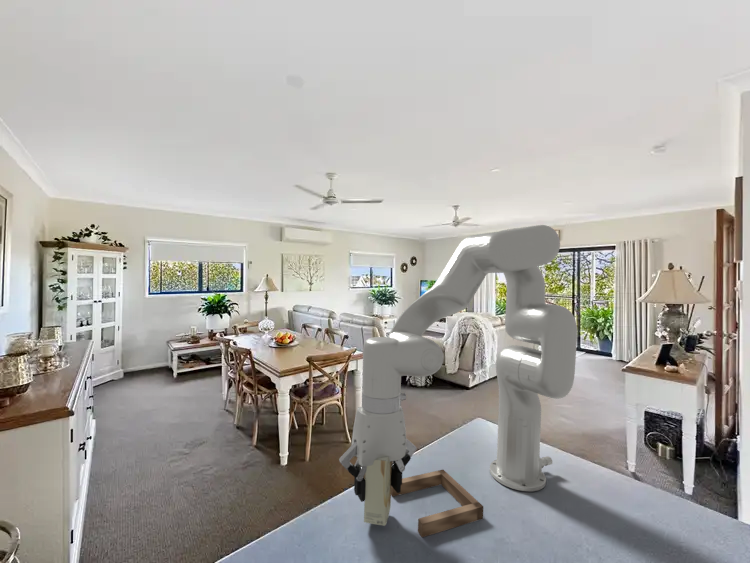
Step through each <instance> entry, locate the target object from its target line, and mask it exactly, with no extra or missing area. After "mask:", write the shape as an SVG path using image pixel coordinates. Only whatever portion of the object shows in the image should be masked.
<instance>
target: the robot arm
mask: <svg viewBox="0 0 750 563" xmlns="http://www.w3.org/2000/svg"><path fill="white" fill-rule="evenodd" d="M560 248H561V240H560V237H559V234H558V232H557V231H556V230H555V229H554V228H553V227H551V226H550V225H549V226H548V225H546V224H538V225H537V224H536V225H531V226H523V227H516V228H510V229H509V228H508V229H503V230H499V231H494V232H485V233H479V234H472V235H469V236H467V237H465V238H463V239H462V240H461V241H460V242H459V244H458V245H457V247H456V248H455V250H454V252H453V254H452V255H451V256H450V258H449V260H448V261H447V263H446V264H445V266H444V268H443V269H442V271H441V273H440V274H439V275H438V278H437V279H436V281H435V282H434V283H433V285H432V286H431V287H430V288H429V289H428V290H427V291H426V292H424V293H423V294H422V295H421V296H419V297H418V298H417V299H416V300H414V301H413V302H412V303H411V304H410V305H408V307H406V309H404V311H403V312H402V313H401V315H400V316H399V317H398V318H397V320H396V322H395V323H394V324H393V327H392V328H391V329H390V331H389V333H388V335H387V337H386V336H375V337H373V336H372V337H370V338H367V339H366V340H365V341H364V343H363V350H362V375H361V376H362V378H361V379H362V383H361V385H362V386H361V406H359V407H357V408H356V412H355V415H354V416H355V418H354V423H353V427H352V438H351V445H350V446H349V448H348V449H347V450H346V451H345V452H344V453H343V454H342V455H341V456H339V459H338V460H339V463H340V464H341V465H342V466H343V468H344V469H345V470H346V471H348V473H349V474H350V475H352V476H353V477H354V479H353V480H354V482H353V483H354V484H353V491H354V494H355V496H357V497H358V499H359V501H360V502H362V503H363V502H365V487H366V481H365V473H366V470H367V466H371V465H373V463H374V460H376V459H378V458H384V457H389V462H391V461H392V471H391V486H392V487H393V488H394V490H395V491H396V492H397V493H400V492H401V485H402V479H403V473H404V471H405V470H406V466H407V465H408V463H409V462H410V461H411V459H412V458H411V457H413V455H414V454H415V453H416V451H417V446H416V445H415V444H414V443H412V441H410V440H409V439H408V438H407V429H406V419H405V414H404V409H403V407H402V402H403V401H405V400H406V399H407V396H406V395H407V394H406V393H405V392H404V393H403V392H402V390H401V387H402V386H401V385H402V384H401V383H402V377H404V376H407V377H409V376H410V377H418V378H420V377H428V376H429V377H430V376H432V375H434V374H436V373H437V372H438V371H439V370H440V369H441V367H442V366H443V363H444V352H443V350H442V348H441V346H440V345H439V344H438V343H437V342H436V341H434V340H432V339H430V338H427V337H424V336H423V335H424V333H425V332H426V331H427V330H428V329H429V328H430V327H431V326H432V325H433V324H435V323H436V322H438V321H440V320H441V319H444V318H446V317H450V316H453V315H455V314H458V313H461V312H462V311H464V310H466V309H467V308H468V307H469V305H470V304H471V302H472V301H473V299H474V297H475V295H476V294H477V292H478V290H479V288H480V287H481V285H482V283H483V281H484V280H485V278H486V276H487V275H488V274H503V275H504V278H505V280H506V281H505V282H506V300H505V302H506V303H505V313H504V314H505V315H504V317H505V318H504V325H505V326H504V327H505V332H506V333H507V335H508V336H509V337H510V338H512V339H514V340H517V341H520V342H525V343H529V344H533V345H538V346H540V349H541V350H539V349H537V348H531V347H528V346H523V345H507V346H504V347H503V348H502V349H501V350H500V351H498V353H497V355H496V359H495V371H496V377H497V378H496V379H497V385H498V416H497V418H498V419H497V439H496V440H497V443H496V459H495V460H493V461H492V462H491V463H490V465H489V472H490V475H491V477H492V478H493V479H494V480H496V481H497V482H498V483H499V484H501V485H503V486H505V487H506V488H510V489H512V490H516V491H520V492H538V491H540V490H542V489H543V488H545V487H546V482H547V477H546V475H545V473H543V471H542V470H543V469H544V467H547V466H551V465H552V464H553V459H552V457H551V456H549V455H547V456H542V457H540V453H541V429H542V428H541V425H542V422H541V421H542V405H541V400H540V397H539V395H541V396H544V397H547V398H549V399H555V400H558V399H563V398H565V397H566V396H568V395H569V393H570V391H571V390H572V388H573V385H574V381H575V373H576V362H577V360H576V359H577V345H578V344H577V343H578V326H577V321H576V319H575V318H576V317H575V316H574V314H573V313H572V312H571V311H570V310H569V309H568V308H567V307H565V306H562V305H559V304H550V303H546V282H545V278H544V276H543V273H542V272H541V269H540V268H539V267H540V266H544V265H548V264H549V263H551V262H552V261H553V260H554V259H555V258H556V257H557V256H558V254H559V251H560ZM354 457H356V458H357V459H356V461H355V463H354V464H353V463H352V462H351V460H352V459H353V458H354Z"/></svg>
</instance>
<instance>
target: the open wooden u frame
mask: <svg viewBox="0 0 750 563" xmlns="http://www.w3.org/2000/svg"><path fill="white" fill-rule="evenodd" d="M438 486H442V487H443V489H445V491H446V492H448V493H449V494H450V495H451V497H453V498H454V500H456V502H458V503H459V504H460V505H461V506H459V507H455V508H451V509H448V510H444V511H441V512H437V513H434V514H430V515H426V516H423V517H419V518H418V520H417V521H418V522H417V533H418V534H419V536H420V537H421V538H424V537H425V538H426V537H428V536H432V535H435V534H439V533H442V532H444V531H448V530H451V529H455V528H458V527H461V526H464V525H467V524H471V523H474V522H477V521H480V520H484V505H483V504H482V503H481V502H479V501H478V500H477V499H476V498H475V497H474V496H473V495H472V494H471V493H469V491H468V490H466V489H465V488H464V487H463V486H462V485H461V484H459V482H458V481H457V480H455V479H454V478H453V477H452V476H451V475H450V474H449V473H448V472H447V471H446V470H444V469H439V470H434V471H430V472H425V473H421V474H417V475H412V476H408V477H402V485H401V492H400V493H397V492H396V491H395V490H394V488H393V487H392V486H391V498H392V497H395V496H396V497H397V496H401V495H405V494H409V493H412V492H417V491H422V490H425V489H430V488H434V487H438Z"/></svg>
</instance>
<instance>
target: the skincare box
mask: <svg viewBox="0 0 750 563" xmlns="http://www.w3.org/2000/svg"><path fill="white" fill-rule="evenodd" d="M392 465H393V461H391V462H389V457H384V458H378V459H376V460H374V463H373V465H371V466H367V470H366V473H365V475H364V479H365V481H366V487H365V500H364V508H363V510H364V511H363V522H364V523H366V524H371V525H376V526H377V525H378V526H383V527H385V526H387V523H388V520H389V516H390V511H391V507H392V506H391V504H392V496H391V471H392Z"/></svg>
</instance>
